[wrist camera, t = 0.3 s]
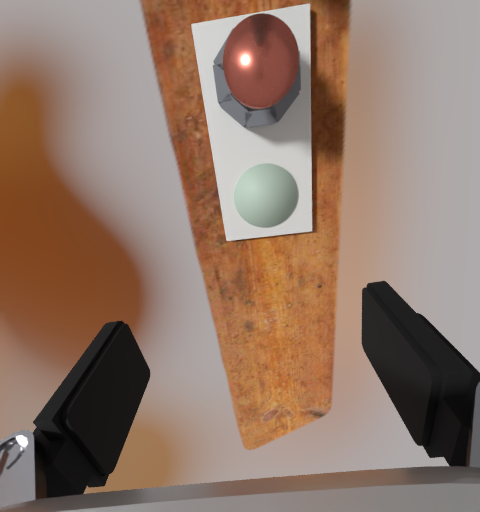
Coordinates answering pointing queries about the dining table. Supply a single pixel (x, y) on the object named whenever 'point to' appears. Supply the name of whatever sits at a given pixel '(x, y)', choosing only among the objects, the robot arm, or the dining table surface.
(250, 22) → the copper domed post
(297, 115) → the board
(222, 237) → the dining table surface
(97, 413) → the robot arm
